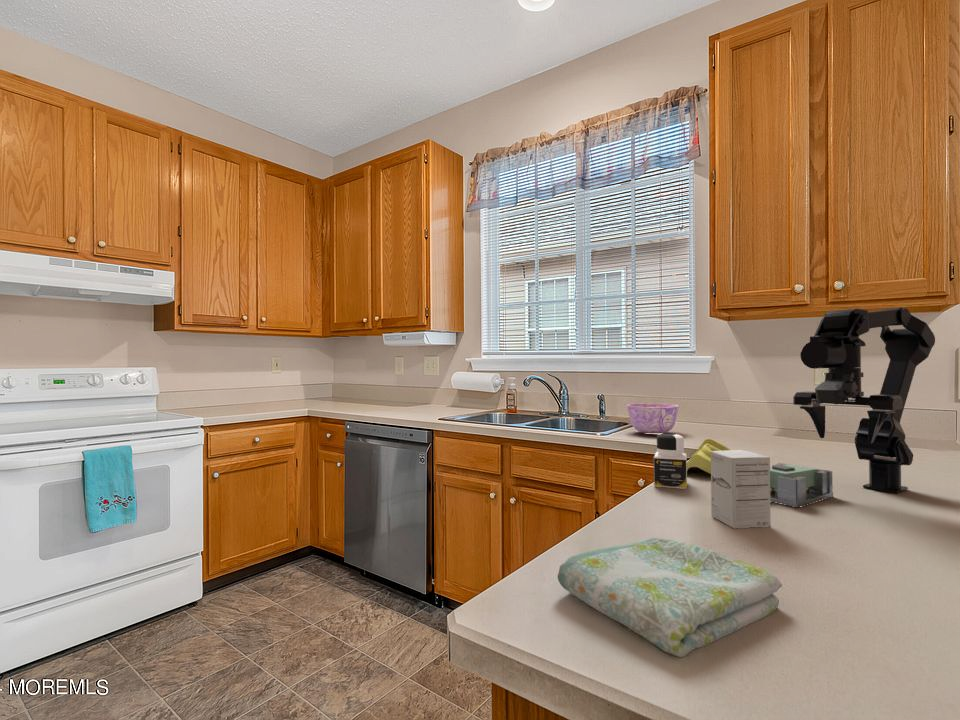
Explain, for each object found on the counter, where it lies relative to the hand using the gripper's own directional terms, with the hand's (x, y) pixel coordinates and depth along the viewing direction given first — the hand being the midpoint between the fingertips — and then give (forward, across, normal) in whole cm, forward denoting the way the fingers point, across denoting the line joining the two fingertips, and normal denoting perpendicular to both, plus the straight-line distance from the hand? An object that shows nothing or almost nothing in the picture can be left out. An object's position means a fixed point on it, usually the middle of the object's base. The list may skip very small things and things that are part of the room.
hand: (845, 440), depth 111 cm
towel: (+13, +10, -72) cm, 74 cm away
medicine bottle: (+12, -28, -21) cm, 37 cm away
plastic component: (+12, -32, +1) cm, 35 cm away
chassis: (+12, -7, -10) cm, 17 cm away
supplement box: (+12, -3, -35) cm, 37 cm away
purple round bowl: (+12, -87, +45) cm, 99 cm away
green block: (+10, -7, -10) cm, 15 cm away
